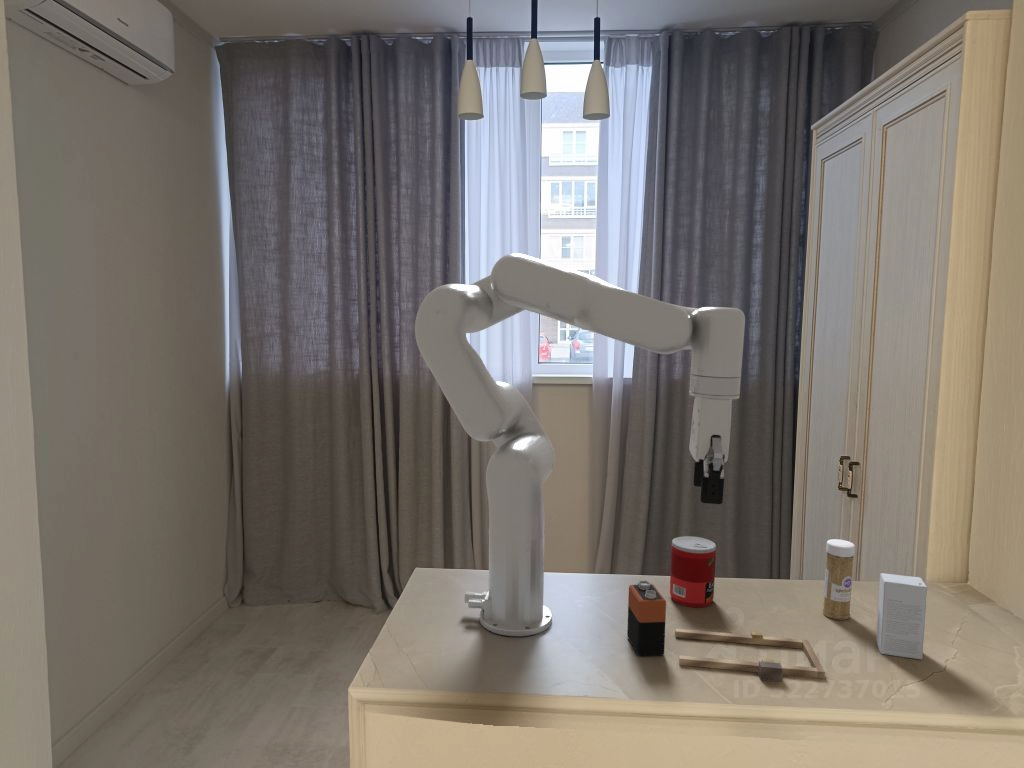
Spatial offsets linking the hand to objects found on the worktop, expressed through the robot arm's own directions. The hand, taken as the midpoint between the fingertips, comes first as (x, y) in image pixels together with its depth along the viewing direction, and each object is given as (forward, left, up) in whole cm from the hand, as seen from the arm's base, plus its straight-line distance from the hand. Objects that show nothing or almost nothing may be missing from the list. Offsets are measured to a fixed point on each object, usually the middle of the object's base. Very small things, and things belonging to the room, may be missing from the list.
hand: (707, 494), depth 109 cm
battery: (-9, -2, -25) cm, 27 cm away
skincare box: (+31, +4, -25) cm, 40 cm away
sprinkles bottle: (+25, +16, -25) cm, 39 cm away
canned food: (0, +18, -25) cm, 31 cm away
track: (+7, -3, -25) cm, 26 cm away
